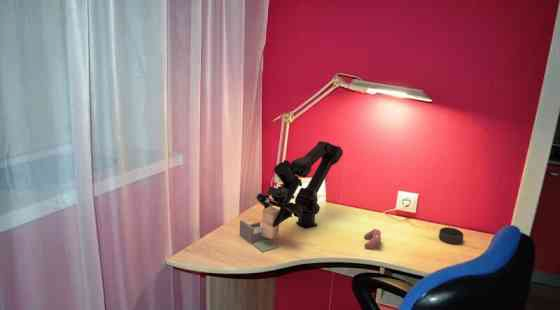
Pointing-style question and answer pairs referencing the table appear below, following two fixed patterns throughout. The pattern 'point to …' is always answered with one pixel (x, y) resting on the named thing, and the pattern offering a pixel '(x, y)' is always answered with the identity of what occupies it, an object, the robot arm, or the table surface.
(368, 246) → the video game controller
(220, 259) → the table surface
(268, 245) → the mat
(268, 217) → the birch block
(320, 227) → the table surface
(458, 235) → the smart speaker
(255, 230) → the tray
